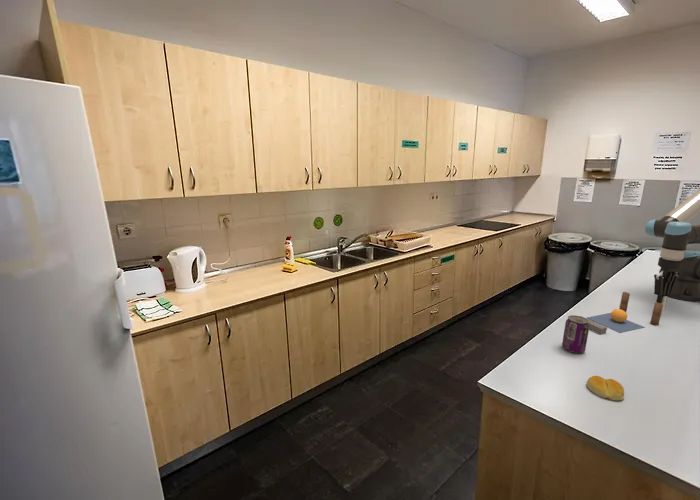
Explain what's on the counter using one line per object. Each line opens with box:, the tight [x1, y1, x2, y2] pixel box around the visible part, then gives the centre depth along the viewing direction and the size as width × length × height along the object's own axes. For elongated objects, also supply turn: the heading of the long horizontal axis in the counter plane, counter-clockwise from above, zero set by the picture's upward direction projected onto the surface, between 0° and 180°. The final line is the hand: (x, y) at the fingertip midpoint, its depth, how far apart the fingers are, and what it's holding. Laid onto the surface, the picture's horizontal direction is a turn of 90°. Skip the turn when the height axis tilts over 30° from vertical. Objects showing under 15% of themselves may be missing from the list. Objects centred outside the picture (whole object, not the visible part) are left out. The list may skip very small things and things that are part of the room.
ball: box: [610, 308, 628, 322], centre depth 142 cm, size 6×6×6 cm
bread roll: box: [586, 375, 625, 401], centre depth 99 cm, size 8×9×4 cm
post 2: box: [649, 302, 663, 326], centre depth 139 cm, size 3×3×9 cm
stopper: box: [580, 315, 608, 335], centre depth 137 cm, size 3×11×2 cm, turn 18°
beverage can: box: [561, 314, 590, 354], centre depth 121 cm, size 7×7×12 cm
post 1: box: [618, 291, 631, 313], centre depth 150 cm, size 3×3×9 cm
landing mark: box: [586, 312, 645, 334], centre depth 141 cm, size 14×14×1 cm
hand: (659, 309), depth 149 cm, fingers closed
